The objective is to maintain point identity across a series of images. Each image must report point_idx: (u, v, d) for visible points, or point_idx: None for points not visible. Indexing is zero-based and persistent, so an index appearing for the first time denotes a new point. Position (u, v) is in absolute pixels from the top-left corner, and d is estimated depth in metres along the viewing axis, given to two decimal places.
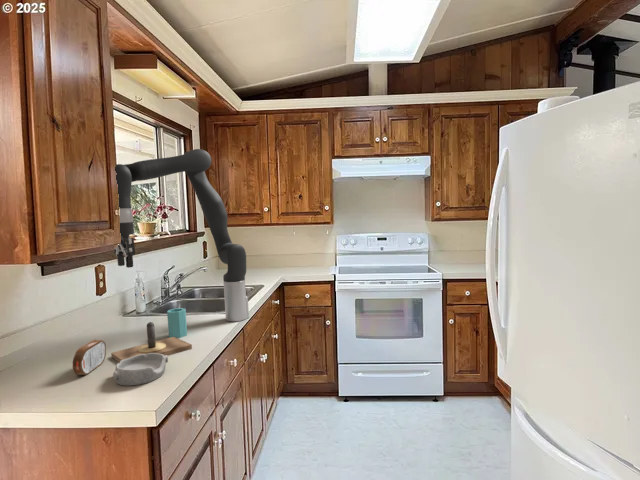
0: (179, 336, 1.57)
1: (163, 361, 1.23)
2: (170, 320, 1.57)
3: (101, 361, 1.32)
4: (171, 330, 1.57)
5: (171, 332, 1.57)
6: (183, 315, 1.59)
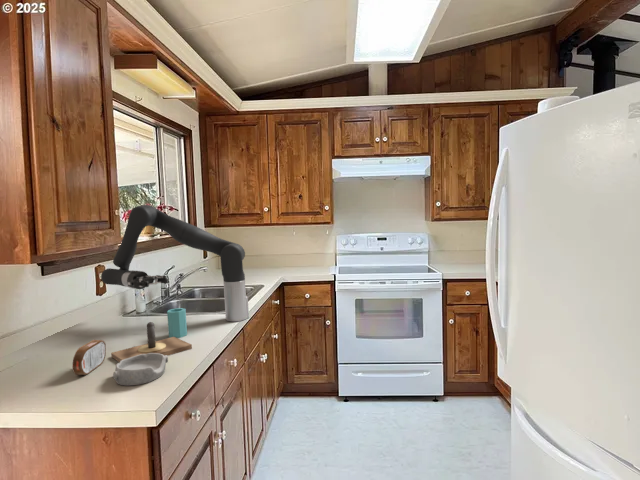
0: (179, 336, 1.57)
1: (163, 361, 1.23)
2: (170, 320, 1.57)
3: (101, 361, 1.32)
4: (171, 330, 1.57)
5: (171, 332, 1.57)
6: (183, 315, 1.59)
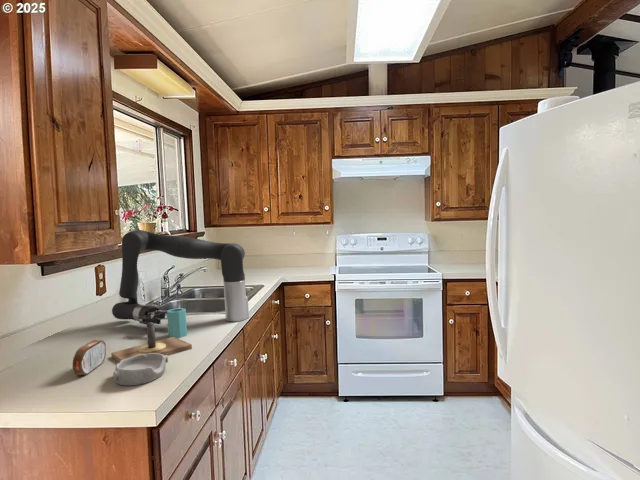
0: (179, 336, 1.57)
1: (163, 361, 1.23)
2: (170, 320, 1.57)
3: (101, 361, 1.32)
4: (171, 330, 1.57)
5: (171, 332, 1.57)
6: (183, 315, 1.59)
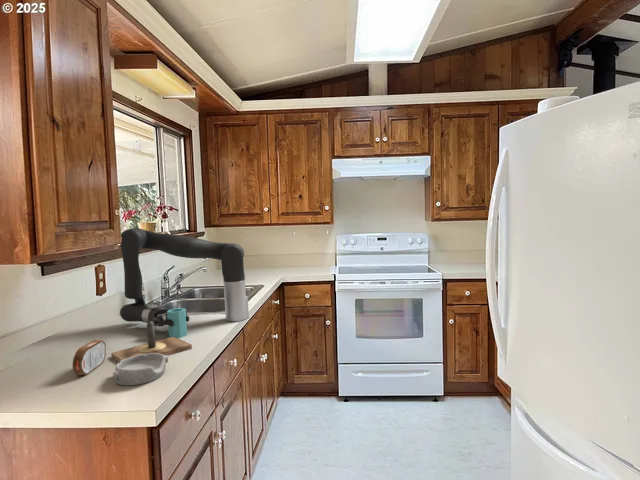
0: (179, 336, 1.57)
1: (163, 361, 1.23)
2: None
3: (101, 361, 1.32)
4: (171, 330, 1.57)
5: (171, 332, 1.57)
6: (183, 315, 1.59)
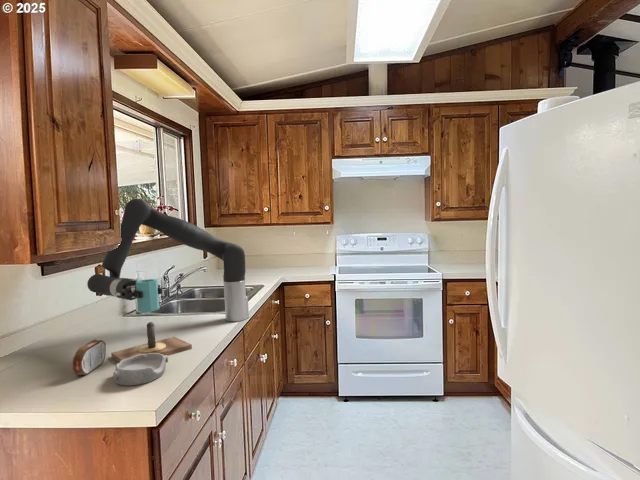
0: (149, 310, 1.38)
1: (163, 361, 1.23)
2: None
3: (101, 361, 1.32)
4: (140, 303, 1.38)
5: (140, 305, 1.38)
6: (154, 286, 1.39)
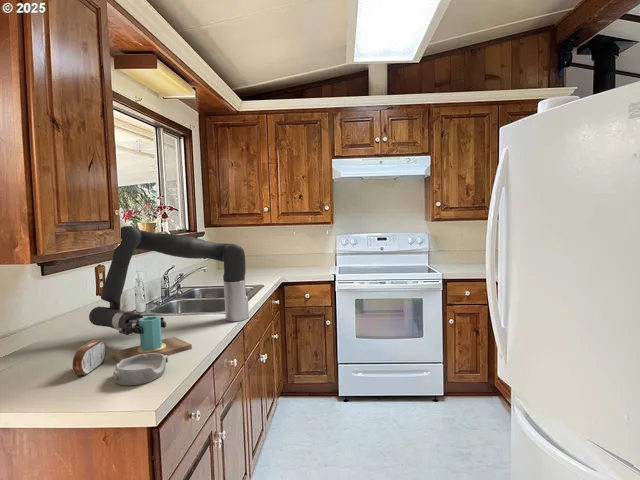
0: (152, 348, 1.38)
1: (163, 361, 1.23)
2: None
3: (101, 361, 1.32)
4: (143, 341, 1.38)
5: (143, 344, 1.38)
6: (157, 324, 1.39)
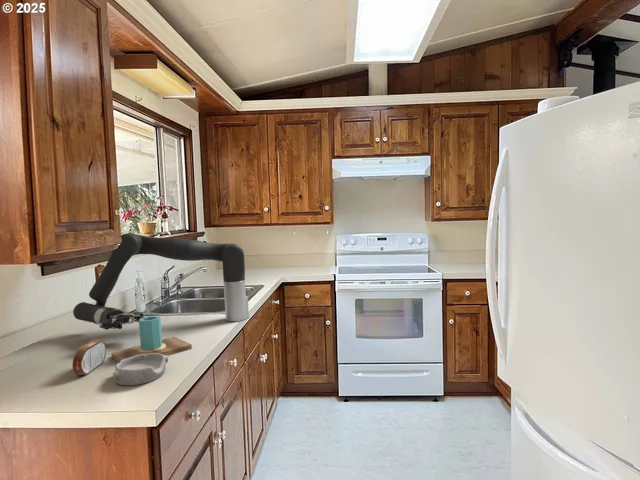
0: (152, 348, 1.38)
1: (163, 361, 1.23)
2: (142, 330, 1.38)
3: (101, 361, 1.32)
4: (143, 341, 1.38)
5: (143, 344, 1.38)
6: (157, 324, 1.39)
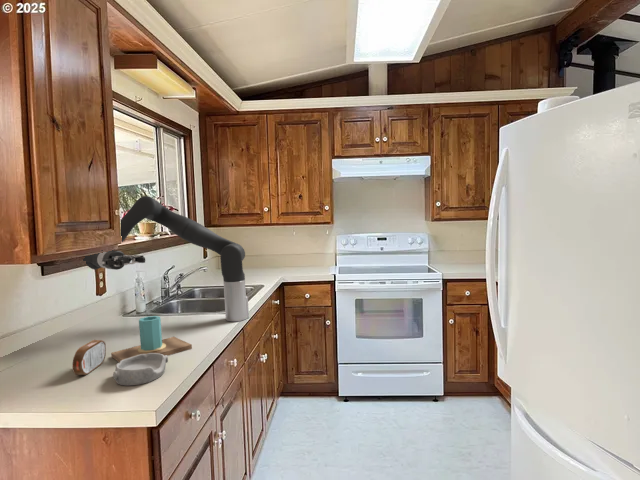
0: (152, 348, 1.38)
1: (163, 361, 1.23)
2: (142, 330, 1.38)
3: (101, 361, 1.32)
4: (143, 341, 1.38)
5: (143, 344, 1.38)
6: (157, 324, 1.39)
